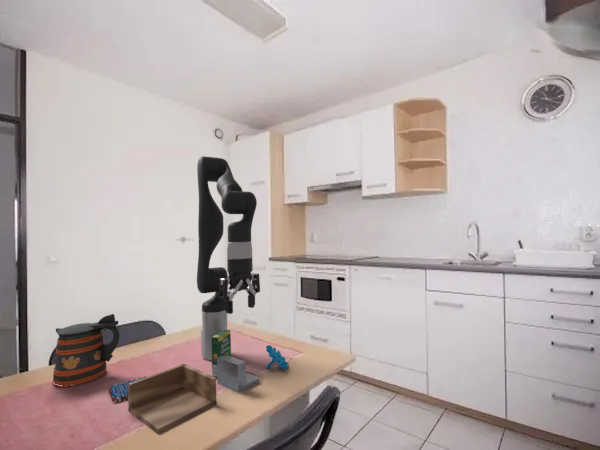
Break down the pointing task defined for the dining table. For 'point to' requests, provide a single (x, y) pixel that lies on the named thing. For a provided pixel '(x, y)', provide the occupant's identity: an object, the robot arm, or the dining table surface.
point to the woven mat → (120, 391)
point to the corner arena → (171, 396)
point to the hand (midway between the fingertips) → (240, 310)
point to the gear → (276, 358)
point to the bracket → (234, 374)
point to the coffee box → (220, 348)
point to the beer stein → (83, 351)
